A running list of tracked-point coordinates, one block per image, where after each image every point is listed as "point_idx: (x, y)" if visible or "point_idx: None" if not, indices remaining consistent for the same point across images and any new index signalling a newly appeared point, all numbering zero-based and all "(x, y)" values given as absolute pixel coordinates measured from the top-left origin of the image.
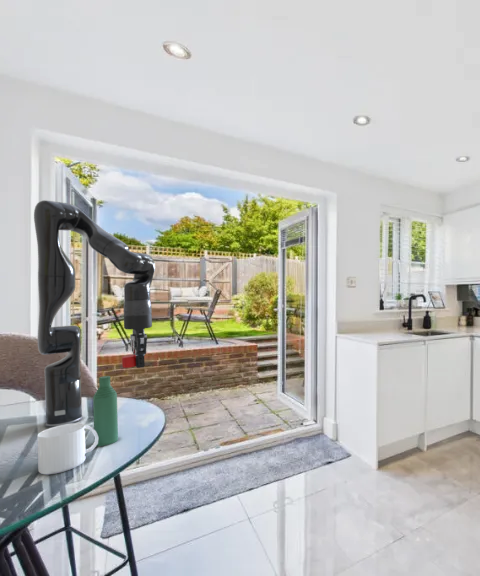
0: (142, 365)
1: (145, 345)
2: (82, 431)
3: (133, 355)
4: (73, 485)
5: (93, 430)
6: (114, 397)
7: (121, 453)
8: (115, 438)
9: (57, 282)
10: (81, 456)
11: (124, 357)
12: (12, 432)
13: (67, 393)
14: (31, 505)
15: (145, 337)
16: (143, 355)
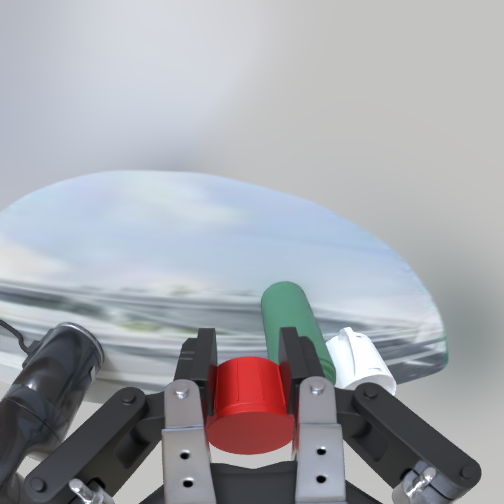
0: (307, 340)
1: (433, 435)
2: (385, 370)
3: (254, 424)
4: (424, 335)
5: (359, 351)
6: (328, 356)
7: (376, 281)
8: (301, 290)
9: None
10: (370, 342)
11: (271, 449)
12: (97, 398)
13: (72, 393)
14: (428, 363)
15: (471, 487)
16: (299, 380)
